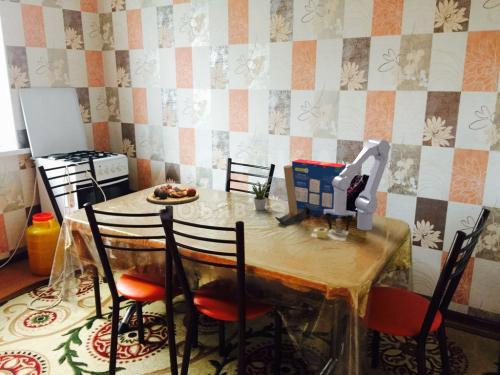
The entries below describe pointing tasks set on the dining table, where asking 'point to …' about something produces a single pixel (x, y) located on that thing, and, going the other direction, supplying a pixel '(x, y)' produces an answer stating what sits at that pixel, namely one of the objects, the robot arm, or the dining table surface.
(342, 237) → the striped beige square plate
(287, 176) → the hammer
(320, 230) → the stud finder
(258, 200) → the house plant
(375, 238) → the dining table surface
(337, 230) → the grey-capped tan cylinder
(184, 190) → the wooden plate with food
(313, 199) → the blue product box
